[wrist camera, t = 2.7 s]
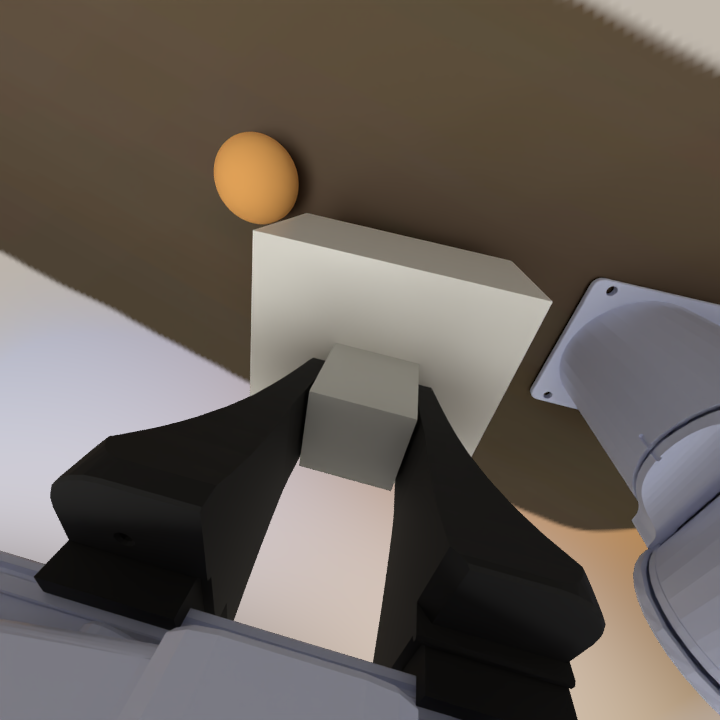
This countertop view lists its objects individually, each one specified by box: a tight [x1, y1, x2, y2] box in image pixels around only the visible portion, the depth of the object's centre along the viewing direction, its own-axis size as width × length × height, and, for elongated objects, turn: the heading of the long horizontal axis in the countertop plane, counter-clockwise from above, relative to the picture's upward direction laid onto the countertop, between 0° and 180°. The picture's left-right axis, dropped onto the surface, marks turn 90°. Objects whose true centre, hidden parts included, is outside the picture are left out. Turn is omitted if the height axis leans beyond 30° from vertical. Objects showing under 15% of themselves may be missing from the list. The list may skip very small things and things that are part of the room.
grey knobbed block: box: [250, 213, 552, 491], centre depth 13 cm, size 9×9×8 cm
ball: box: [214, 132, 299, 224], centre depth 16 cm, size 4×4×4 cm
